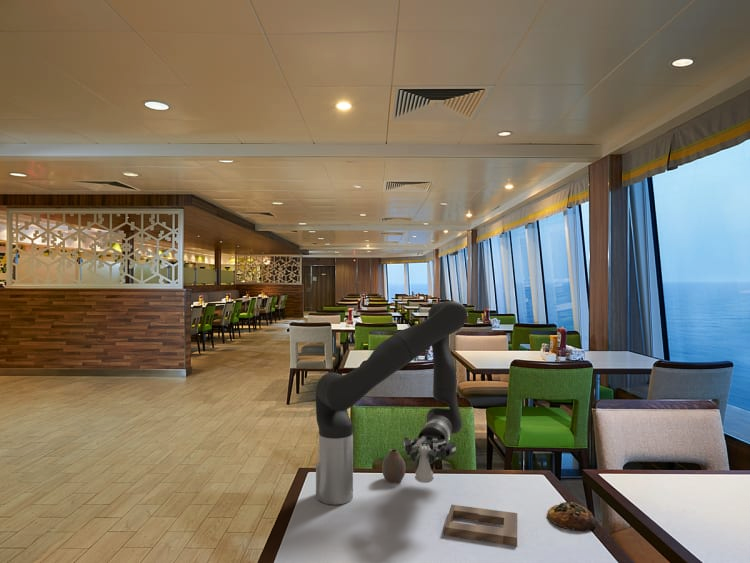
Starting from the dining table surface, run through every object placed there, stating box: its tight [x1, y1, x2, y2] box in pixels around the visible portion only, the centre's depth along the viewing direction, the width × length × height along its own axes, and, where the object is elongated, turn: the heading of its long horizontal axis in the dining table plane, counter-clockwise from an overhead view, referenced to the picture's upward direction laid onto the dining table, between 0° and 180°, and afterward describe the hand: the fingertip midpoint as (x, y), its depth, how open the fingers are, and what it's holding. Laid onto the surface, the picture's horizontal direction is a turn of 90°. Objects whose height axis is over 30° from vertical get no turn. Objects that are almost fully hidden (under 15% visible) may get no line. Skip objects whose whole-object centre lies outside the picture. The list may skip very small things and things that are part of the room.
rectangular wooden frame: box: [443, 504, 518, 547], centre depth 111 cm, size 16×12×2 cm
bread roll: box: [546, 501, 596, 532], centre depth 115 cm, size 11×11×5 cm
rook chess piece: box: [414, 444, 434, 484], centre depth 112 cm, size 4×4×8 cm
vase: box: [381, 448, 407, 484], centre depth 139 cm, size 7×7×9 cm
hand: (422, 458), depth 110 cm, fingers closed on rook chess piece, 3 cm apart
